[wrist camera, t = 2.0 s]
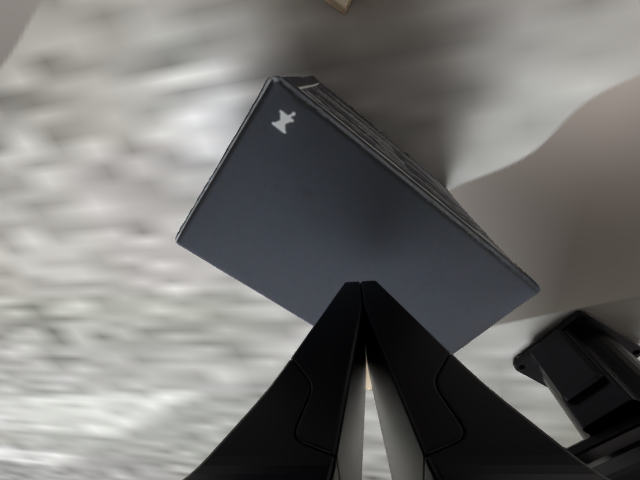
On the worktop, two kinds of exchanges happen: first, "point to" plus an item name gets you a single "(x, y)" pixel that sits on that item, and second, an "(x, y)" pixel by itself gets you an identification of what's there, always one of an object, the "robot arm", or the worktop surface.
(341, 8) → the marked block 1
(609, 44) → the worktop surface
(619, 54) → the worktop surface
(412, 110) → the worktop surface
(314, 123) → the small box
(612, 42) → the worktop surface
